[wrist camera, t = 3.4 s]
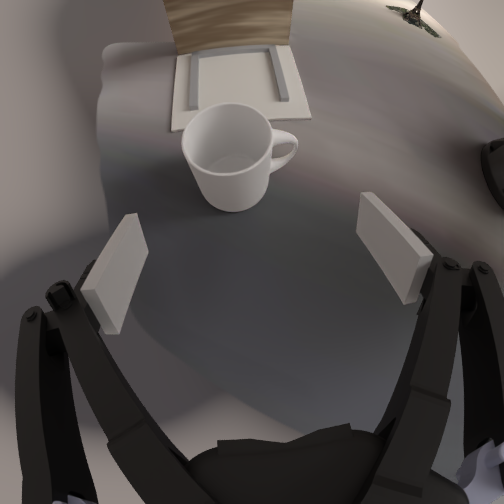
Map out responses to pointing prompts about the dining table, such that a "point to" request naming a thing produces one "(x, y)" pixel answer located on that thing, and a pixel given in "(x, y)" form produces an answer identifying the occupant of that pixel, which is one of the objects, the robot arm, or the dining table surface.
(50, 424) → the robot arm
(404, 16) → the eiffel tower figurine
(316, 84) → the dining table surface
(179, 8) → the overhang shelf
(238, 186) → the mug
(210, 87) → the seat plate
